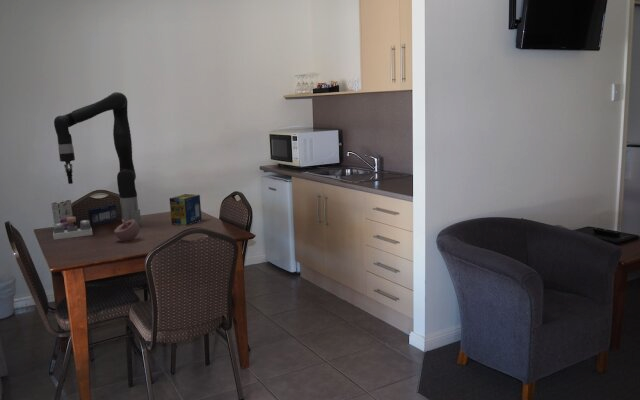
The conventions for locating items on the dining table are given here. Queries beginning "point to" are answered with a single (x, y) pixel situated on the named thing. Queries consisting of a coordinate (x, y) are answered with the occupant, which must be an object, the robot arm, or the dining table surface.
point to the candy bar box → (62, 212)
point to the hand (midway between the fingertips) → (70, 183)
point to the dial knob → (71, 220)
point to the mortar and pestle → (127, 230)
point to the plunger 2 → (84, 222)
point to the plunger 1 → (58, 225)
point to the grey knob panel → (72, 232)
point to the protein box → (185, 209)
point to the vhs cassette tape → (102, 215)
